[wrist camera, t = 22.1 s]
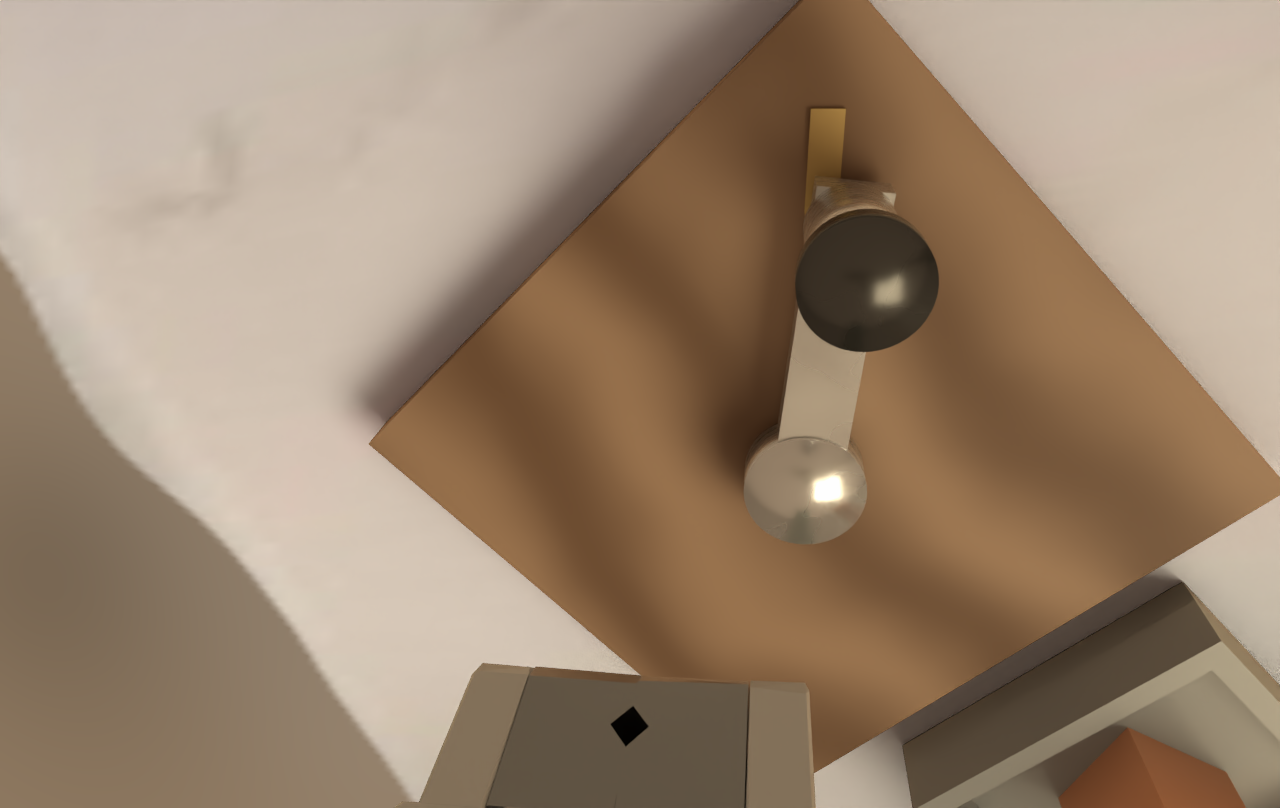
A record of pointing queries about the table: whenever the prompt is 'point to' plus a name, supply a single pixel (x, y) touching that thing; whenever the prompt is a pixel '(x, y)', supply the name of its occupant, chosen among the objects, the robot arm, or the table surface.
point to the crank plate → (884, 414)
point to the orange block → (1149, 779)
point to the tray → (1110, 714)
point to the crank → (836, 356)
